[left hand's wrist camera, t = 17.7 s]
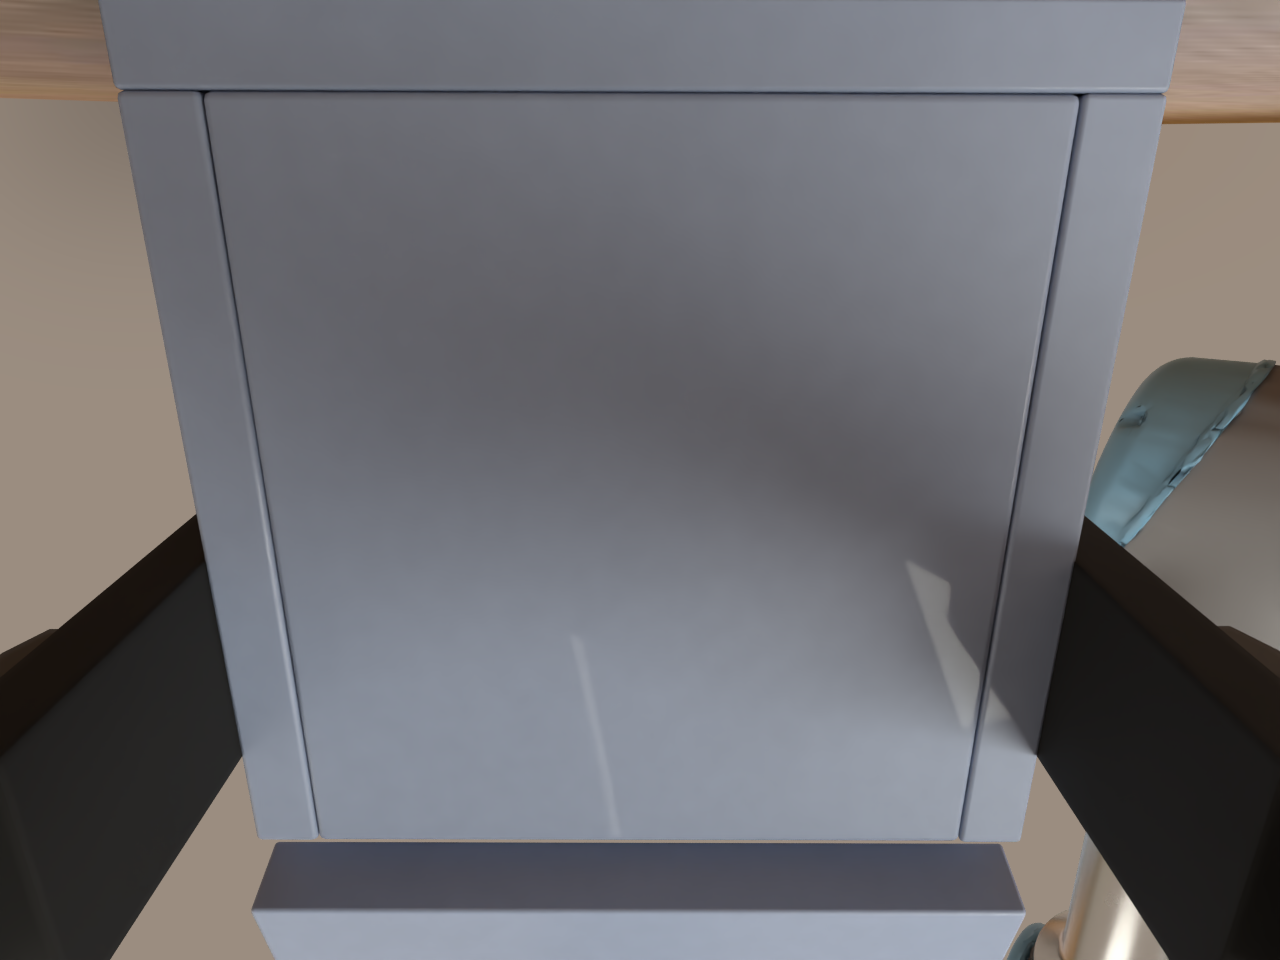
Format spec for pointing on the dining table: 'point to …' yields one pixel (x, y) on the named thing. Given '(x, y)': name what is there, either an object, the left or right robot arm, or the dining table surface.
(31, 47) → the dining table surface
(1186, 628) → the left robot arm
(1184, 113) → the dining table surface
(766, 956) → the lid
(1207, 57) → the dining table surface
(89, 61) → the dining table surface
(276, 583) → the chest
